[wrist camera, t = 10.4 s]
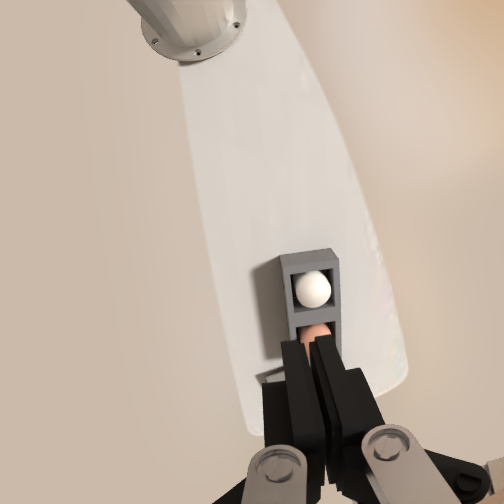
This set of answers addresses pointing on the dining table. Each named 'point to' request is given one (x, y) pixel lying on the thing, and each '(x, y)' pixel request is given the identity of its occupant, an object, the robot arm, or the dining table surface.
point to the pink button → (312, 333)
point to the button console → (323, 313)
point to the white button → (311, 288)
